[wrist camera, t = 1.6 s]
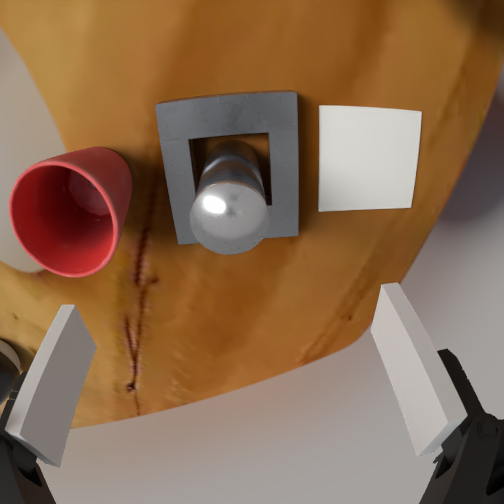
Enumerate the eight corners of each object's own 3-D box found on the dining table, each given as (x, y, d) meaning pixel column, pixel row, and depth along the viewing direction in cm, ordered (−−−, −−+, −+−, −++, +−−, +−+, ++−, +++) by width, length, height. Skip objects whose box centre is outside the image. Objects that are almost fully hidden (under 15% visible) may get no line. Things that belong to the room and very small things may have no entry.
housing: (161, 101, 27) (155, 104, 24) (292, 90, 27) (296, 92, 24) (182, 232, 34) (178, 244, 32) (294, 224, 34) (298, 235, 32)
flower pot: (59, 126, 27) (4, 154, 19) (156, 141, 29) (123, 174, 20) (56, 215, 32) (14, 262, 24) (141, 234, 34) (115, 290, 26)
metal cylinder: (203, 142, 29) (184, 187, 19) (256, 137, 29) (267, 181, 19) (209, 190, 32) (195, 257, 22) (259, 186, 32) (270, 251, 22)
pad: (319, 105, 27) (320, 105, 27) (419, 111, 27) (421, 111, 27) (317, 209, 33) (318, 211, 33) (409, 206, 33) (410, 207, 33)
